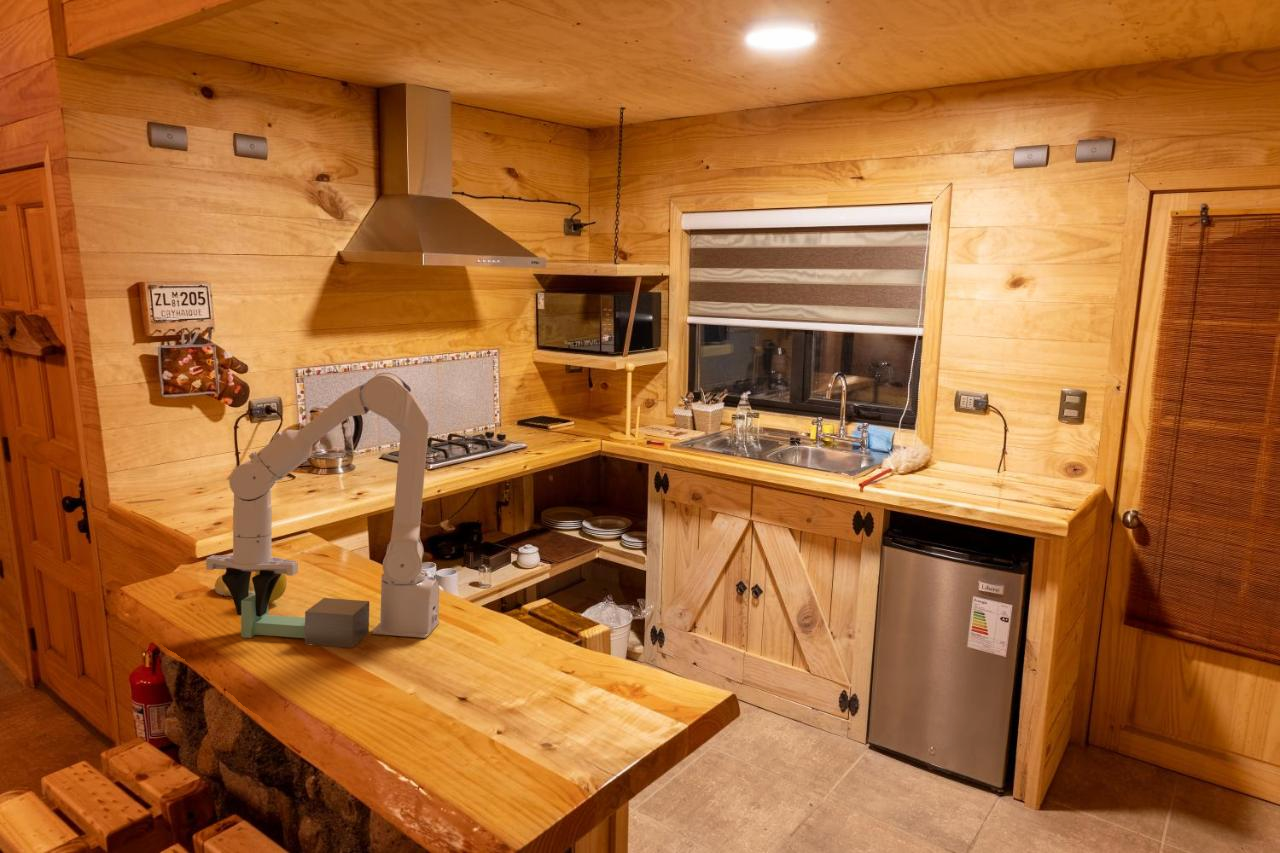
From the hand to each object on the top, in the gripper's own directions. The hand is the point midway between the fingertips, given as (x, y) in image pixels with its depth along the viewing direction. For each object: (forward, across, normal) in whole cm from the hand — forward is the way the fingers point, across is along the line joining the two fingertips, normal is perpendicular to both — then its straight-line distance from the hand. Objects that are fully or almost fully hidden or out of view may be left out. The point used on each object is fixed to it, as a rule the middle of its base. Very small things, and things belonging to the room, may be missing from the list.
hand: (252, 613), depth 135 cm
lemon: (+3, +4, -14) cm, 14 cm away
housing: (+3, -14, 0) cm, 14 cm away
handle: (+3, -6, 0) cm, 6 cm away
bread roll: (+4, +12, -20) cm, 24 cm away
